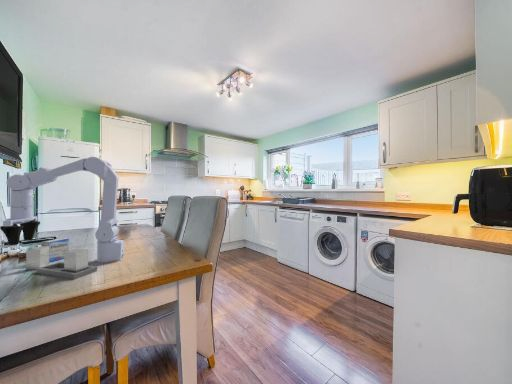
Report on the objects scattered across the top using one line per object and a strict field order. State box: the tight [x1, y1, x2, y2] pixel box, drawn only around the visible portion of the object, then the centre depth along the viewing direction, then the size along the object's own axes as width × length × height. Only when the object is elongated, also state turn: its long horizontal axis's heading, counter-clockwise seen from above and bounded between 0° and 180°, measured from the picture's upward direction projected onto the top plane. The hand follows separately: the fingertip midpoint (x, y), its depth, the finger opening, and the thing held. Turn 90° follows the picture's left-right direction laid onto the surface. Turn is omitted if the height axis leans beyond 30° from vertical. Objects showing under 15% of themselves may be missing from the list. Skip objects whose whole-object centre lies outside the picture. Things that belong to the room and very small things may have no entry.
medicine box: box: [40, 237, 70, 264], centre depth 92 cm, size 8×4×9 cm, turn 168°
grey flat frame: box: [35, 261, 98, 280], centre depth 75 cm, size 18×7×2 cm, turn 75°
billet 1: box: [25, 246, 50, 271], centre depth 80 cm, size 6×4×8 cm
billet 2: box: [63, 248, 89, 273], centre depth 74 cm, size 6×4×8 cm
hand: (21, 242), depth 80 cm, fingers open, 7 cm apart
